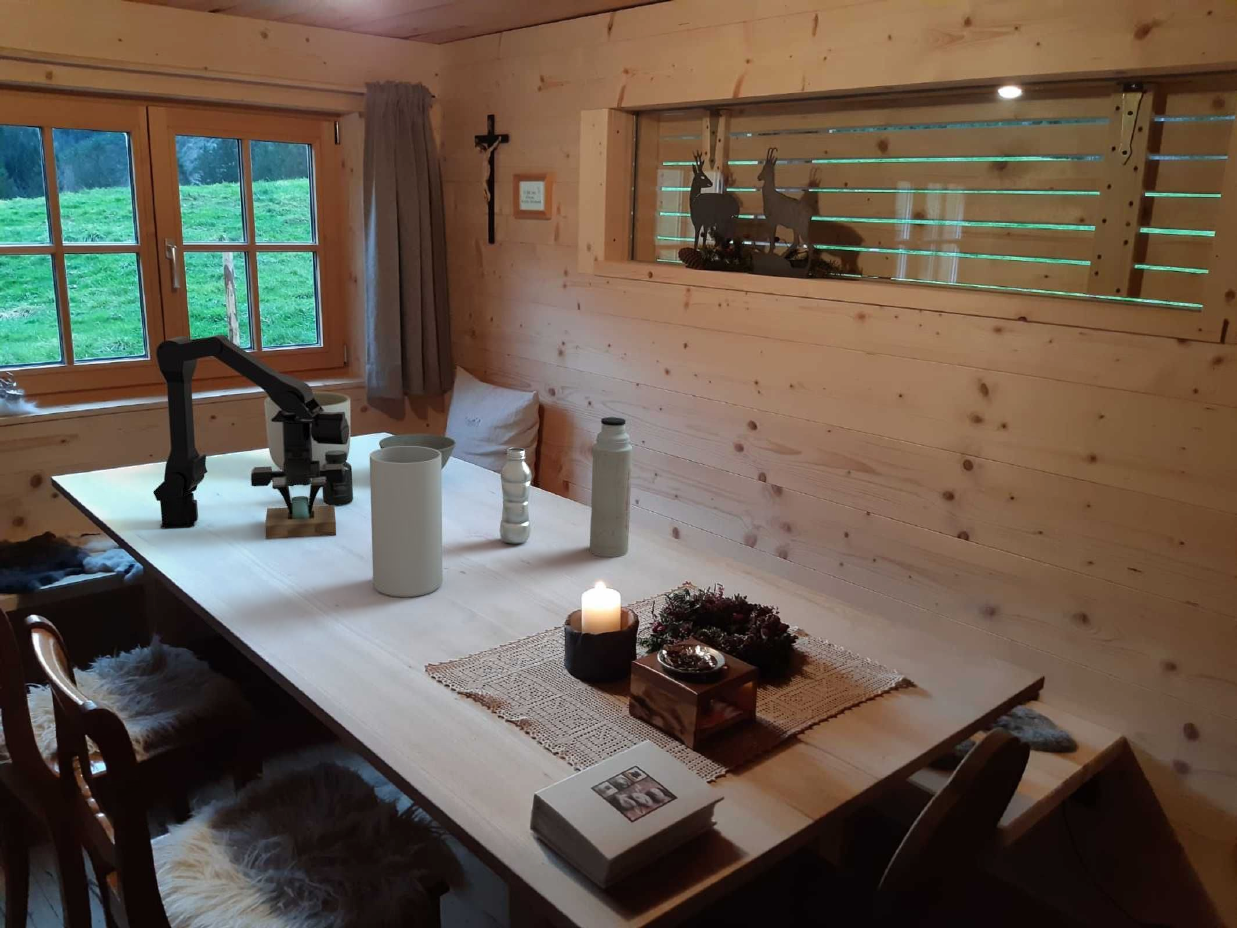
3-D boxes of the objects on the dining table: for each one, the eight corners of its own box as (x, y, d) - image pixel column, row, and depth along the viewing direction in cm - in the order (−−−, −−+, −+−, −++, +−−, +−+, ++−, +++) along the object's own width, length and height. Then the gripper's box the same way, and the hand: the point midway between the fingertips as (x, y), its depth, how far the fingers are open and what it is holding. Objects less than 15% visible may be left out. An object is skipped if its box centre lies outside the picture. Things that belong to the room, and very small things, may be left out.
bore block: (265, 539, 200) (264, 525, 200) (267, 521, 211) (267, 508, 211) (336, 535, 204) (335, 521, 204) (334, 517, 216) (334, 505, 215)
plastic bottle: (493, 543, 203) (493, 450, 198) (511, 534, 209) (512, 444, 204) (518, 549, 201) (520, 455, 196) (536, 540, 206) (538, 448, 201)
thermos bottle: (631, 546, 205) (637, 416, 198) (623, 558, 197) (629, 424, 190) (594, 542, 206) (598, 413, 199) (585, 554, 199) (589, 421, 192)
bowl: (365, 484, 241) (364, 445, 239) (403, 467, 259) (402, 430, 256) (433, 493, 236) (433, 454, 234) (467, 475, 254) (467, 437, 251)
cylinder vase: (374, 600, 172) (370, 464, 166) (372, 575, 184) (368, 447, 177) (445, 596, 175) (444, 462, 169) (439, 571, 187) (438, 445, 181)
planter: (255, 479, 242) (250, 404, 237) (285, 459, 262) (282, 389, 257) (337, 483, 242) (335, 408, 237) (362, 462, 262) (360, 393, 257)
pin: (292, 523, 205) (291, 501, 204) (292, 518, 209) (291, 496, 207) (309, 522, 206) (308, 500, 205) (309, 517, 210) (308, 495, 208)
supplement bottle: (357, 498, 230) (355, 449, 227) (346, 507, 223) (345, 456, 220) (329, 497, 231) (327, 447, 227) (318, 505, 224) (315, 455, 221)
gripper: (247, 453, 193) (251, 528, 197) (345, 450, 198) (347, 523, 202) (250, 440, 203) (254, 511, 207) (343, 437, 209) (345, 507, 213)
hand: (300, 513), depth 207 cm, fingers closed on pin, 3 cm apart
